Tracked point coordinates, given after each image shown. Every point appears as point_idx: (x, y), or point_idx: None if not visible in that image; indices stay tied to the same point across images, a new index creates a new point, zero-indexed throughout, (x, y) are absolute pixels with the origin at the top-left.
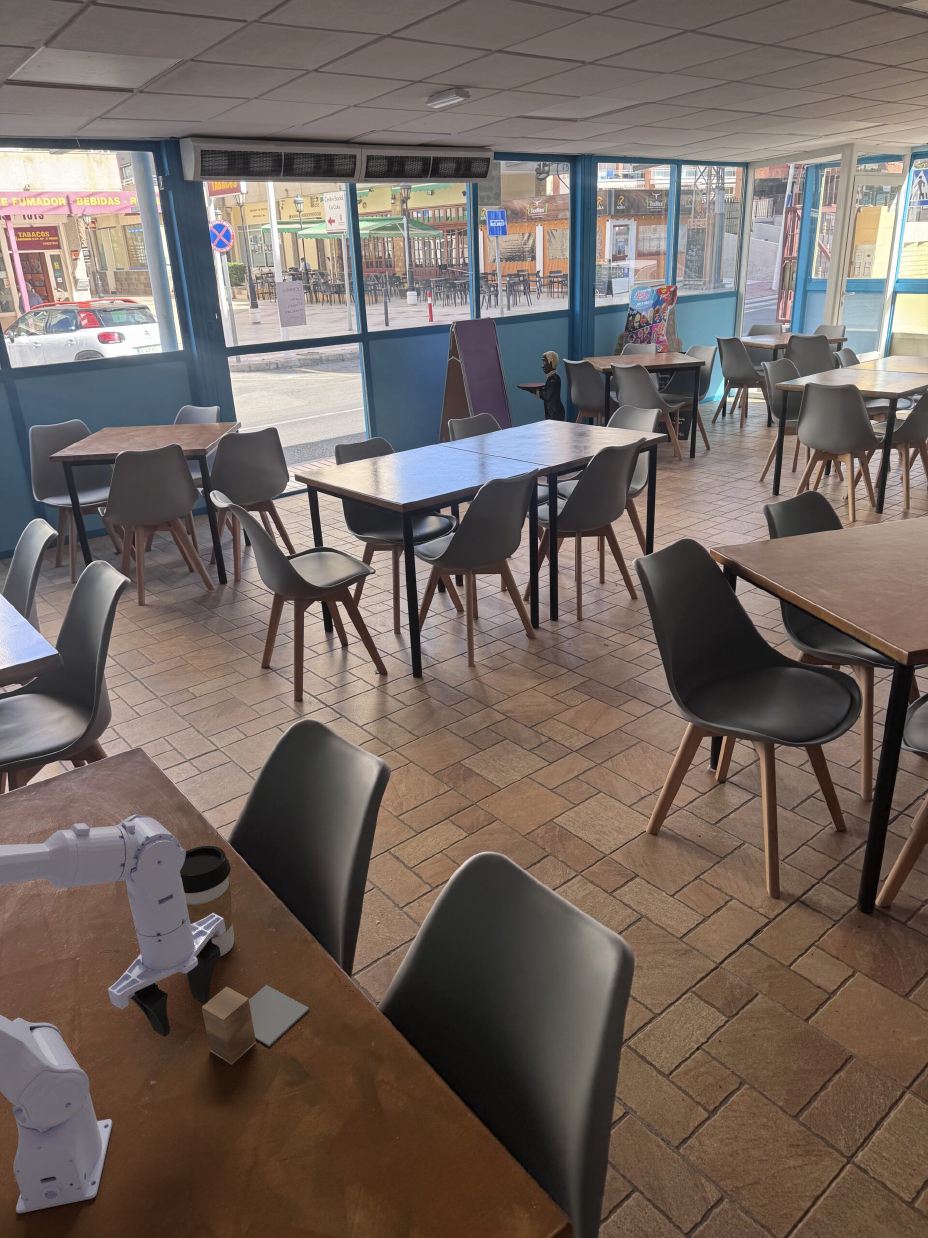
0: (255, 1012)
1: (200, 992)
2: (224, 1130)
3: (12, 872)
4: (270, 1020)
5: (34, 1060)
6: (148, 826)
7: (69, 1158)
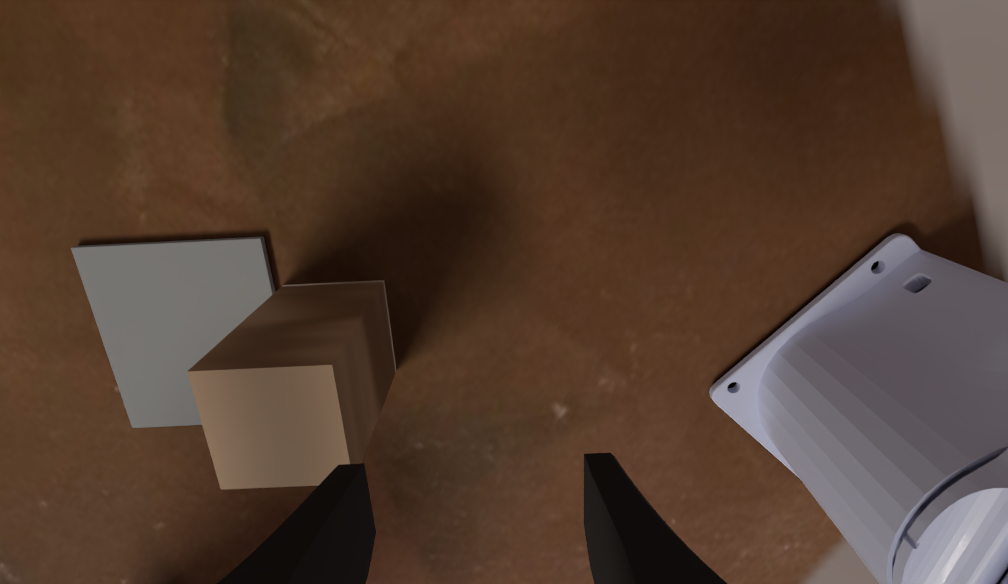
0: None
1: (344, 532)
2: (552, 99)
3: None
4: (199, 311)
5: None
6: None
7: None
